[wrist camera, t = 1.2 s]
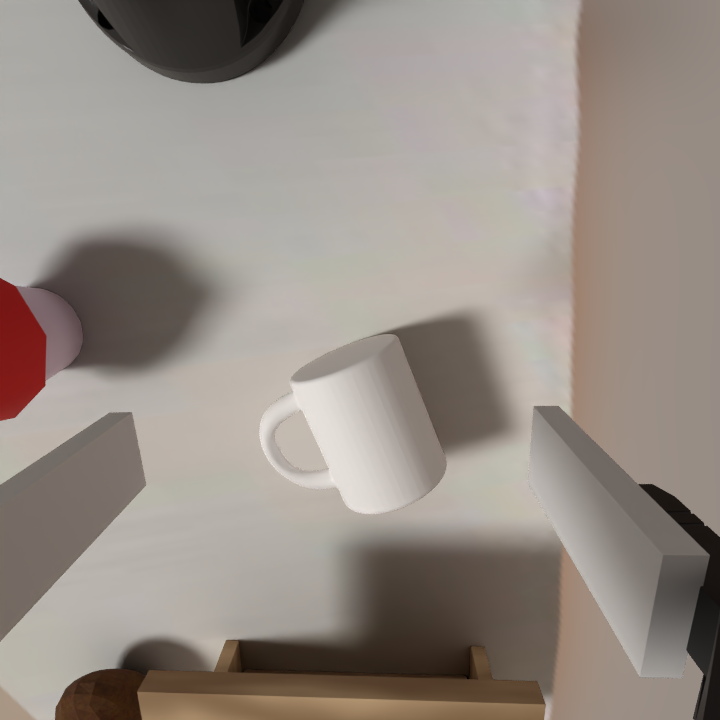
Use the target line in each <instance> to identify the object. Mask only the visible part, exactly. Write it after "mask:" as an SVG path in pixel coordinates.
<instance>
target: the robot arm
mask: <svg viewBox="0 0 720 720" xmlns="http://www.w3.org/2000/svg"><path fill="white" fill-rule="evenodd" d="M303 1H304V0H79V2H80V4H81V5H82V7H83V8H84V9H85V11H86V12H87V14H88V15H89V16H90V18H91V19H92V20H93V21H94V23H95V24H96V25H97V26H98V27H99V28H100V29H101V30H102V31H103V33H104V34H105V35H106V36H107V37H109V38H110V39H111V40H112V41H113V42H114V43H115V44H116V45H118V46H119V47H120V48H121V49H123V50H124V51H125V52H126V53H128V54H129V55H130V56H132V57H133V58H134V59H136V60H137V61H138V62H140V63H141V64H143V65H144V66H146V67H147V68H149V69H151V70H153V71H155V72H156V73H159V74H161V75H163V76H166V77H169V78H172V79H175V80H179V81H184V82H190V83H214V82H220V81H224V80H228V79H231V78H234V77H237V76H239V75H241V74H244V73H246V72H248V71H249V70H251V69H253V68H254V67H256V66H257V65H259V64H260V63H261V62H263V61H264V60H265V59H266V58H268V57H269V56H270V55H271V54H272V53H273V52H274V51H275V50H276V49H277V47H278V46H279V45H280V44H281V43H282V41H283V40H284V39H285V37H286V36H287V34H288V33H289V31H290V30H291V28H292V26H293V24H294V23H295V21H296V18H297V16H298V14H299V12H300V9H301V7H302V4H303ZM528 485H529V487H530V488H531V490H532V492H533V493H534V495H535V497H536V499H537V500H538V502H539V504H540V506H541V507H542V509H543V511H544V512H545V514H546V516H547V518H548V519H549V521H550V523H551V525H552V526H553V528H554V530H555V531H556V533H557V535H558V537H559V538H560V540H561V542H562V544H563V545H564V547H565V549H566V550H567V552H568V554H569V556H570V557H571V559H572V561H573V563H574V564H575V566H576V568H577V569H578V571H579V573H580V575H581V576H582V578H583V580H584V581H585V583H586V585H587V587H588V588H589V590H590V592H591V594H592V595H593V597H594V599H595V600H596V602H597V604H598V606H599V607H600V609H601V611H602V613H603V614H604V616H605V618H606V620H607V621H608V623H609V625H610V626H611V628H612V630H613V632H614V633H615V635H616V637H617V638H618V640H619V642H620V644H621V645H622V647H623V649H624V650H625V652H626V654H627V656H628V658H629V659H630V661H631V663H632V665H633V666H634V668H635V670H636V671H637V673H638V675H639V676H640V677H644V678H682V677H683V673H684V668H685V664H686V660H687V655H688V653H689V655H690V656H691V657H692V659H693V660H694V661H695V663H696V664H697V666H698V667H699V668H700V670H701V671H702V672H703V674H704V675H703V679H702V683H701V688H700V691H699V695H698V700H697V704H696V708H695V712H694V716H693V719H694V720H720V537H719V536H718V535H717V534H715V533H714V532H713V531H712V530H711V529H710V528H709V527H708V526H704V523H703V522H702V521H701V520H700V519H699V518H698V517H697V516H696V515H695V514H691V512H690V510H689V509H688V508H687V507H685V505H683V504H682V503H681V502H680V501H679V500H678V499H677V498H676V497H675V496H673V495H671V494H669V493H667V492H665V491H664V490H662V489H660V488H658V487H656V486H655V485H652V484H637V483H636V482H635V481H634V480H633V479H632V478H631V477H630V476H629V475H628V474H627V473H626V472H625V471H624V470H623V469H622V468H621V467H620V466H619V465H618V464H617V463H616V462H615V461H614V460H613V459H612V458H611V457H609V455H608V454H607V453H606V452H605V451H603V449H602V448H601V447H600V446H599V445H598V444H596V442H594V441H593V440H592V439H591V438H590V437H589V436H588V435H587V434H586V433H585V432H584V431H583V430H582V429H581V428H580V427H579V426H578V425H577V424H576V423H575V422H574V421H573V420H572V419H571V418H570V417H569V416H568V415H567V414H566V413H565V412H564V411H563V410H562V409H561V408H560V407H559V406H534V408H533V420H532V433H531V445H530V458H529V470H528ZM145 486H146V481H145V476H144V471H143V466H142V461H141V456H140V451H139V446H138V440H137V435H136V430H135V425H134V420H133V415H132V412H119V413H108V414H107V415H105V416H104V417H102V418H101V419H99V420H98V421H96V422H95V423H93V424H92V425H90V426H89V427H87V428H86V429H84V430H83V431H81V432H80V433H78V434H77V435H75V436H74V437H72V438H71V439H69V440H68V441H66V442H65V443H63V444H62V445H60V446H59V447H57V448H56V449H54V450H53V451H51V452H50V453H48V454H47V455H45V456H44V457H42V458H41V459H39V460H38V461H36V462H35V463H33V464H32V465H30V466H28V467H27V468H25V469H24V470H22V471H21V472H19V473H18V474H16V475H15V476H13V477H12V478H10V479H9V480H7V481H6V482H4V483H3V484H1V485H0V641H1V640H2V639H3V638H4V637H5V636H6V635H7V634H8V633H9V632H10V631H11V629H12V628H13V627H14V626H15V625H16V624H17V623H18V622H19V621H20V620H21V619H22V618H23V617H24V616H25V614H26V613H27V612H28V611H29V610H30V609H31V608H32V607H33V606H34V605H35V604H36V603H37V602H38V601H39V599H40V598H41V597H42V596H43V595H44V594H45V593H46V592H47V591H48V590H49V589H50V588H51V587H52V586H53V584H54V583H55V582H56V581H57V580H58V579H59V578H60V577H61V576H62V575H63V574H64V573H65V572H66V570H67V569H68V568H69V567H70V566H71V565H72V564H73V563H74V562H75V561H76V560H77V559H78V558H79V557H80V555H81V554H82V553H83V552H84V551H85V550H86V549H87V548H88V547H89V546H90V545H91V544H92V543H93V542H94V540H95V539H96V538H97V537H98V536H99V535H100V534H101V533H102V532H103V531H104V530H105V529H106V528H107V527H108V525H109V524H110V523H111V522H112V521H113V520H114V519H115V518H116V517H117V516H118V515H119V514H120V513H121V512H122V510H123V509H124V508H125V507H126V506H127V505H128V504H129V503H130V502H131V501H132V500H133V499H134V498H135V497H136V495H137V494H138V493H139V492H140V491H141V490H142V489H143V488H144V487H145Z"/></svg>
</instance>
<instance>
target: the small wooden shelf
mask: <svg viewBox="0 0 720 720" xmlns="http://www.w3.org/2000/svg"><path fill="white" fill-rule="evenodd" d="M137 694H138V700H139V705H140V711H141V716H142V720H544V715H545V706H546V704H545V702H544V699H543V696H542V693H541V691H540V688H539V685H538V682H537V681H514V680H493V678H492V674H491V671H490V667H489V663H488V659H487V655H486V652H485V648H484V647H471V656H470V674H469V679H467V678H466V676H456V675H421V674H385V673H350V672H315V671H280V670H244V673H242V667H241V658H240V648H239V641H233V640H226V642H225V644H224V647H223V650H222V652H221V655H220V657H219V660H218V662H217V665H216V667H215V670H214V672H201V671H167V670H149V671H148V673H147V675H146V676H145V678H144V680H143V682H142V684H141V686H140V687H139V689H138V691H137Z"/></svg>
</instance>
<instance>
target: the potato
mask: <svg viewBox="0 0 720 720" xmlns="http://www.w3.org/2000/svg"><path fill="white" fill-rule="evenodd" d="M144 678H145V675H144V674H142V673H140V672H138V671H133V670H129V669H106V670H99V671H95V672H92V673H89V674H87V675H85V676H82V677H81V678H79V679H77V680H75V681H74V682H73V683H72V684H70V685H69V686H68V687H67V688H66V689H65V691H64V693H63V695H62V697H61V699H60V701H59V703H58V705H57V706H56V712H55V720H142V716H141V711H140V705H139V700H138V694H137V691H138V689H139V687H140V686H141V684H142V682H143V680H144Z"/></svg>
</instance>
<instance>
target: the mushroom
mask: <svg viewBox="0 0 720 720" xmlns="http://www.w3.org/2000/svg"><path fill="white" fill-rule="evenodd" d="M82 342H83V333H82V326H81V322H80V320H79V318H78V316H77V314H76V313H75V311H74V309H73V307H72V306H70V305H69V304H68V303H67V302H66V301H65V300H64V299H63V298H62V297H61V296H59V295H57V294H55V293H52V292H50V291H47V290H45V289H41V288H31V287H21V286H14V285H12V284H10V283H8V282H7V281H5V280H3V279H1V278H0V421H2V420H6V419H11V418H15V417H16V416H17V415H18V414H19V413H20V412H21V411H22V410H23V409H24V408H25V407H26V406H27V404H28V403H29V402H30V401H31V400H32V399H33V398H34V397H35V396H36V395H37V394H38V393H39V392H40V391H41V390H42V389H43V388H44V387H45V381H46V380H48V379H49V378H51V377H52V376H54V375H55V374H56V373H58V372H59V371H61V370H62V369H64V368H65V367H67V366H68V365H70V364H71V363H72V362H73V360H74V359H75V358H76V357H77V356H78V355H79V354H80V350H81V346H82Z"/></svg>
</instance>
